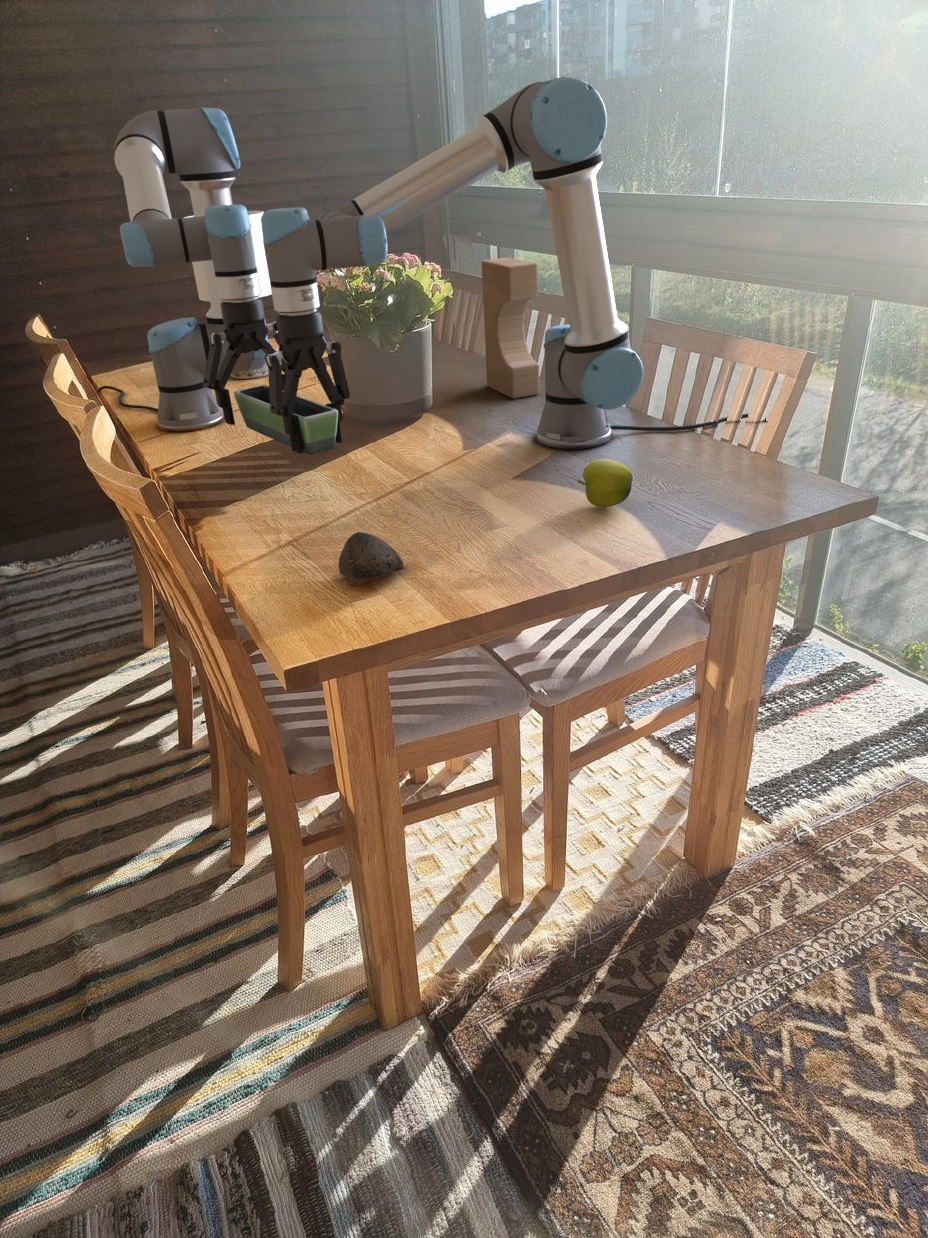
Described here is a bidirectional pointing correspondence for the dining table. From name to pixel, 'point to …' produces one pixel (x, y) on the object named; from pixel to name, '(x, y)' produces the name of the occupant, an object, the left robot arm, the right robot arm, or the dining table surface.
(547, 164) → the right robot arm
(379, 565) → the stone
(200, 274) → the lamp
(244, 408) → the planter
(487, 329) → the decorative block
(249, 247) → the left robot arm
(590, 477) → the apple
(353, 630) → the dining table surface
